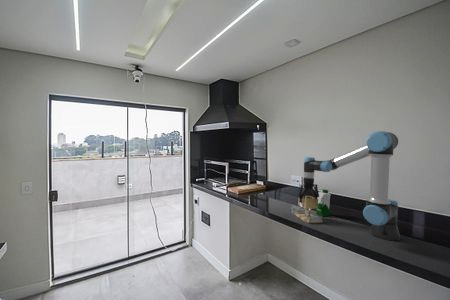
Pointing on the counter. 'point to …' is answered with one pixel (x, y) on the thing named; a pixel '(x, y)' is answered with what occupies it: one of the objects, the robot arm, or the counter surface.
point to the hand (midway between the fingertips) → (307, 206)
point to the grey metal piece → (308, 214)
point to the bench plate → (302, 216)
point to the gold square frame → (309, 202)
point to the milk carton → (323, 203)
